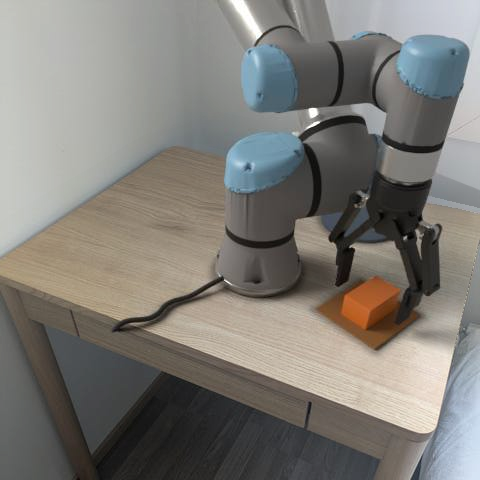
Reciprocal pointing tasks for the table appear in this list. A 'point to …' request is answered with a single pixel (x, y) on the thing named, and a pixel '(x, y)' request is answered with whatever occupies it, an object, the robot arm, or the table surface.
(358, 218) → the plate
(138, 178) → the table surface
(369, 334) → the cork mat
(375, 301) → the orange rectangular block
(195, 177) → the table surface
